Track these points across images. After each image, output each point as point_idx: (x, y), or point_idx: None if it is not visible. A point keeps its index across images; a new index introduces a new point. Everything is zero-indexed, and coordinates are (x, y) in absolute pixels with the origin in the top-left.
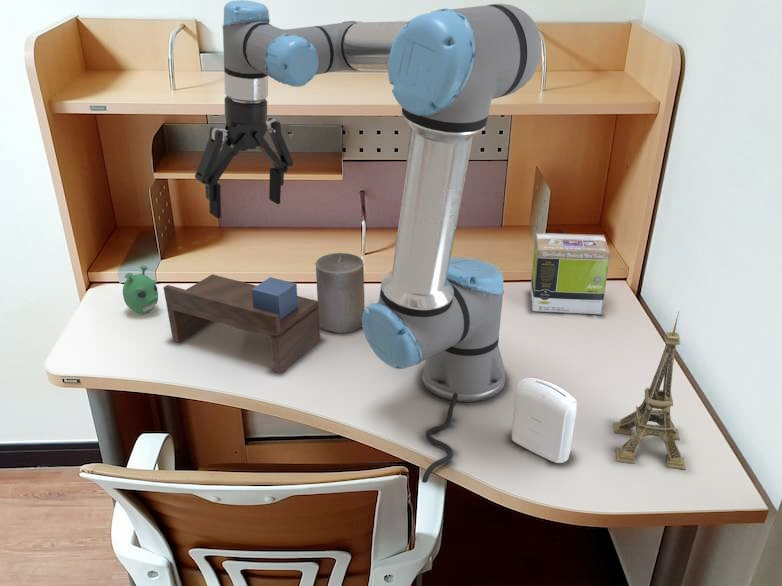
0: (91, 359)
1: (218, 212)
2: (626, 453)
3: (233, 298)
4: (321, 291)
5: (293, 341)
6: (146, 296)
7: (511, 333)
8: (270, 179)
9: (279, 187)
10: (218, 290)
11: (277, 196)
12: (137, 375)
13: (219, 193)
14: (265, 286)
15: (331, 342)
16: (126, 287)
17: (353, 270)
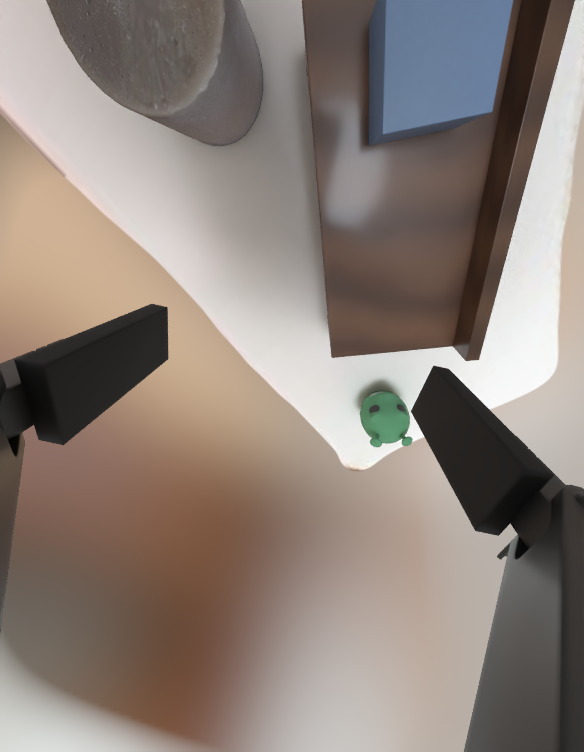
0: (517, 362)
1: (455, 378)
2: None
3: (402, 244)
4: (242, 55)
5: None
6: (396, 403)
7: None
8: (112, 397)
9: (107, 327)
10: (383, 300)
11: (147, 316)
12: (549, 278)
13: (499, 431)
14: (457, 79)
15: (295, 13)
16: (407, 430)
17: None
